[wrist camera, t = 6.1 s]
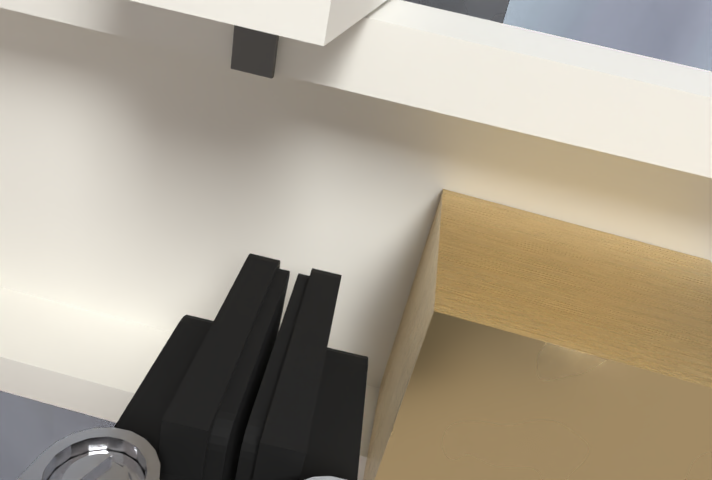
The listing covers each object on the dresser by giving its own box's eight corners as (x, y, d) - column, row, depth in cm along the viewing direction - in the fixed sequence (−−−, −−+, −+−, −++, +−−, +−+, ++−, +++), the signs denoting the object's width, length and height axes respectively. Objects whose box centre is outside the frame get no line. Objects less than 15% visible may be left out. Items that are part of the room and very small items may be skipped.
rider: (442, 188, 10) (433, 311, 7) (710, 260, 10) (838, 422, 7) (380, 384, 13) (350, 548, 9) (595, 445, 13) (646, 635, 9)
